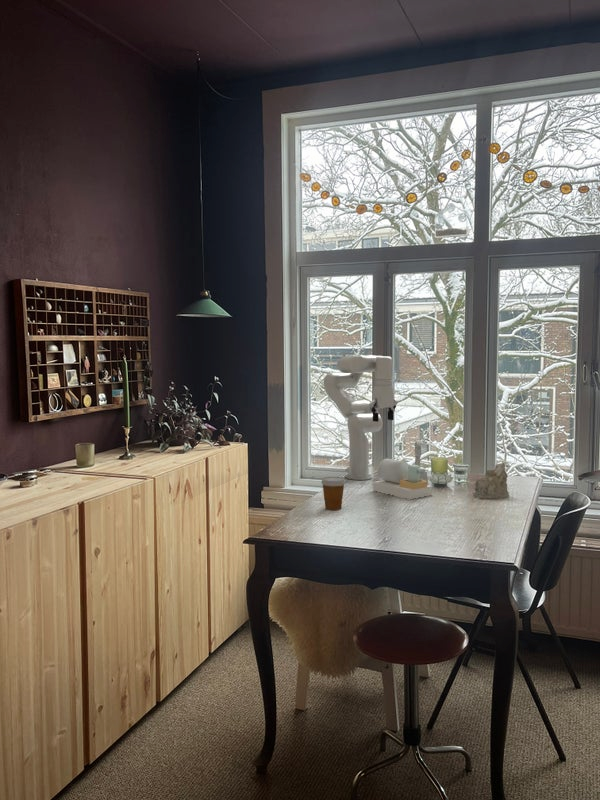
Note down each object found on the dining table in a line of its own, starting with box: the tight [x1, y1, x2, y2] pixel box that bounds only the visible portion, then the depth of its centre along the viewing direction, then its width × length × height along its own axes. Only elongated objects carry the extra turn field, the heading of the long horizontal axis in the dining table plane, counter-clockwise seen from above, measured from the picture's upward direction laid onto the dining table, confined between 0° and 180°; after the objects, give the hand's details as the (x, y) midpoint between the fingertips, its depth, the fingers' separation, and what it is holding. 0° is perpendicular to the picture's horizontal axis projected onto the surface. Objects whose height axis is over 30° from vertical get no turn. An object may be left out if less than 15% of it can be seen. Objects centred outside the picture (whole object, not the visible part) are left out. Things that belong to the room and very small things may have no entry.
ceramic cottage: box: [473, 462, 510, 499], centre depth 289 cm, size 16×16×15 cm
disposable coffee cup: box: [321, 476, 346, 511], centre depth 265 cm, size 10×10×12 cm
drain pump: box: [408, 464, 424, 483], centre depth 286 cm, size 8×5×9 cm, turn 38°
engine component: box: [414, 440, 429, 485], centre depth 311 cm, size 11×20×10 cm
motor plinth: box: [372, 457, 433, 500], centre depth 292 cm, size 22×14×14 cm, turn 38°
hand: (383, 420), depth 305 cm, fingers open, 9 cm apart
